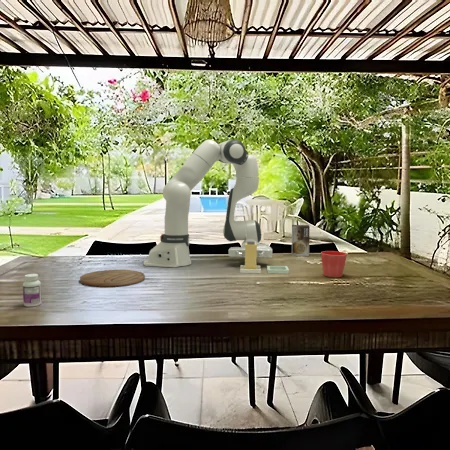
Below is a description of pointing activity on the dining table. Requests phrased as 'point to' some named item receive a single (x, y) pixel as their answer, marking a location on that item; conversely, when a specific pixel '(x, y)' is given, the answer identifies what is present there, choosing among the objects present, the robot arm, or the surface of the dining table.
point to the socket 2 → (278, 269)
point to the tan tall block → (250, 255)
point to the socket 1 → (243, 270)
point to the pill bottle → (32, 291)
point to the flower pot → (333, 263)
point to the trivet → (112, 278)
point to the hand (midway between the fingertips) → (250, 255)
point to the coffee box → (300, 240)
